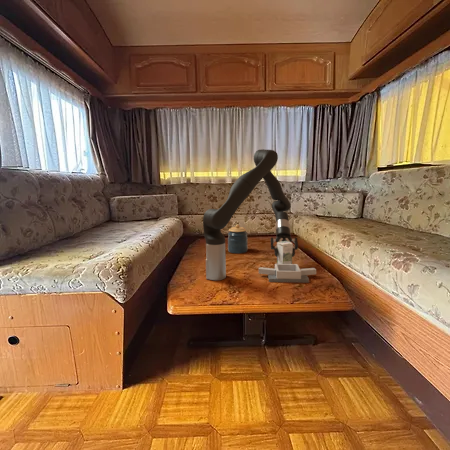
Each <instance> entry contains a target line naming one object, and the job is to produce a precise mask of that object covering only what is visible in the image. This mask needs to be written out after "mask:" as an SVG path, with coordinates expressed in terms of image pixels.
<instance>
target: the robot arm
mask: <svg viewBox="0 0 450 450" xmlns="http://www.w3.org/2000/svg"><path fill="white" fill-rule="evenodd" d="M278 158H279V155H278V153H277V151H276V150H273V149H263V148H262V149H257V150H256V151H255V153H254V154H253V162H254V165H255V167H254V168H252V169H250V170H248V171H246V172H244V173H243V174H242V175H240V176H239V177H238V178H237V179H236V180H235V181H234V183H233V184H232V186H231V187H230V189H229V192H228V195H227V196H228V197H227V199H226V201H225V202H224V203H223V204H222V205H221V206H220V207H219V208H217V209H216V208H209V209H207V210H205V212H204V214H203V217H202V225H203V236H204V239H205V249H206V251H205V254H206V256H205V257H206V259H205V277H206V279H205V280H211V281H221V280H224V279H226V277H227V263H226V262H227V261H226V258H227V257H226V237H225V235H224V234H223V233H222V229H224V228H226V226H227V225H228V224H229V223H230V221H231V219H232V218H233V216H234V215H235V213H236V212H237V210H238V209H239V208H240V207H241V205H242V204H243V203H244V201H245V200H246V199H247V198H248V197H249V196H250V194H252V192H253V190H254V189H256V187H257V185H258V184H259V183H260V182H261V181H262V179H263V180H264V182H265V184H266V187H267V189H268V192H269V195H270V197H271V200H273V202H272V203H271V209H272V211H273V213H274V216H275V235H276V238H274V237H270V250H273V251H274V256H275V257H276V258H277V257H278V251H277V242H282V241H289V242H291V243H292V244H293V243H294V245H293V250H292V258H294V256H295V255H296V251H297V250H298V248H299V243H298V241H299V240H298V237H294V238H292V236H291V235H292V234H291V226H290V220H289V214H288V213H287V212H288V211H289V210H290V209H291V206H292V205H291V203H290V200H289V199H288V197H287V196H286V195H285V193H284V191H283V187H282V186H281V182H280V181H279V180H278V179H277V177H276V176H275V175H274V174H273V173H272V171H271V170H272V169H273V168H274V167H275V166H276V164H277V162H278ZM275 242H276V245H275V246H274V243H275Z"/></svg>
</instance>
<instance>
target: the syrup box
mask: <svg viewBox="0 0 450 450" xmlns="http://www.w3.org/2000/svg"><path fill="white" fill-rule="evenodd" d="M276 244H277V251H278V257H276V264H293V257H292V250H293V246H294V245H293V242H292V241H291V242H289V241H282V242H276Z"/></svg>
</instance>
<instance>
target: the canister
mask: <svg viewBox="0 0 450 450" xmlns="http://www.w3.org/2000/svg"><path fill="white" fill-rule="evenodd" d="M227 236H228V237H227V250H228V252H229V253H232V254H245V253H247V252H248V249H249V247H248V239H249V238H248V232H247V229H246V228H245V227H243V226H240V224H238V223H237V224H236V225H235V226H233V227H230V228H229V229H228V233H227Z"/></svg>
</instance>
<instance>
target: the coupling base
mask: <svg viewBox="0 0 450 450" xmlns="http://www.w3.org/2000/svg"><path fill="white" fill-rule="evenodd" d="M258 274H260V275H267V278H268V279H267V280H268V282H269V283H300V284H301V283H303V284H304V283H305V284H306V283H310V278H309V277H308V276H313V275H317V269H316V268H315V267H310V268H300V266H299V264H298V263H292V264H277V263H274V268H271V267H270V268H269V267H258Z"/></svg>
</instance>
